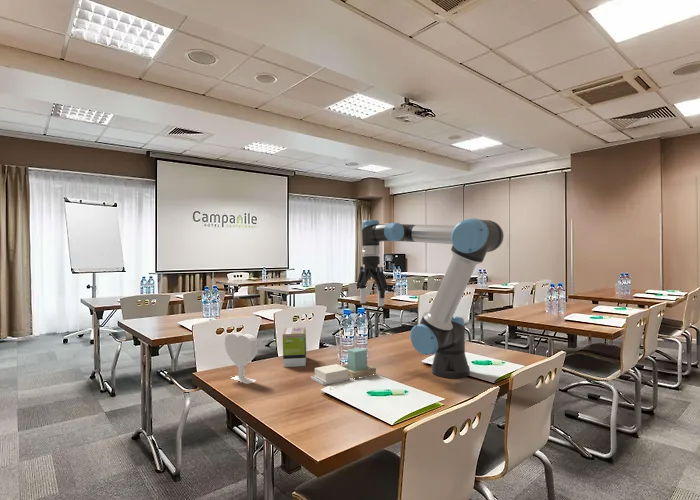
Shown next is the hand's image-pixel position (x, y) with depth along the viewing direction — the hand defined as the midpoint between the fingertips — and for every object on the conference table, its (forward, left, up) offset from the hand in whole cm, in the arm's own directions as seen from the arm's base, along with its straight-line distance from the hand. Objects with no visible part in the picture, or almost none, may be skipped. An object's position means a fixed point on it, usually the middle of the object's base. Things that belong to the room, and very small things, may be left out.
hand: (371, 304), depth 175 cm
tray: (-5, +12, -27) cm, 29 cm away
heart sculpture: (+15, +53, -27) cm, 61 cm away
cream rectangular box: (-5, +24, -27) cm, 36 cm away
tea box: (+26, +25, -27) cm, 45 cm away
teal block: (-5, +11, -26) cm, 29 cm away
